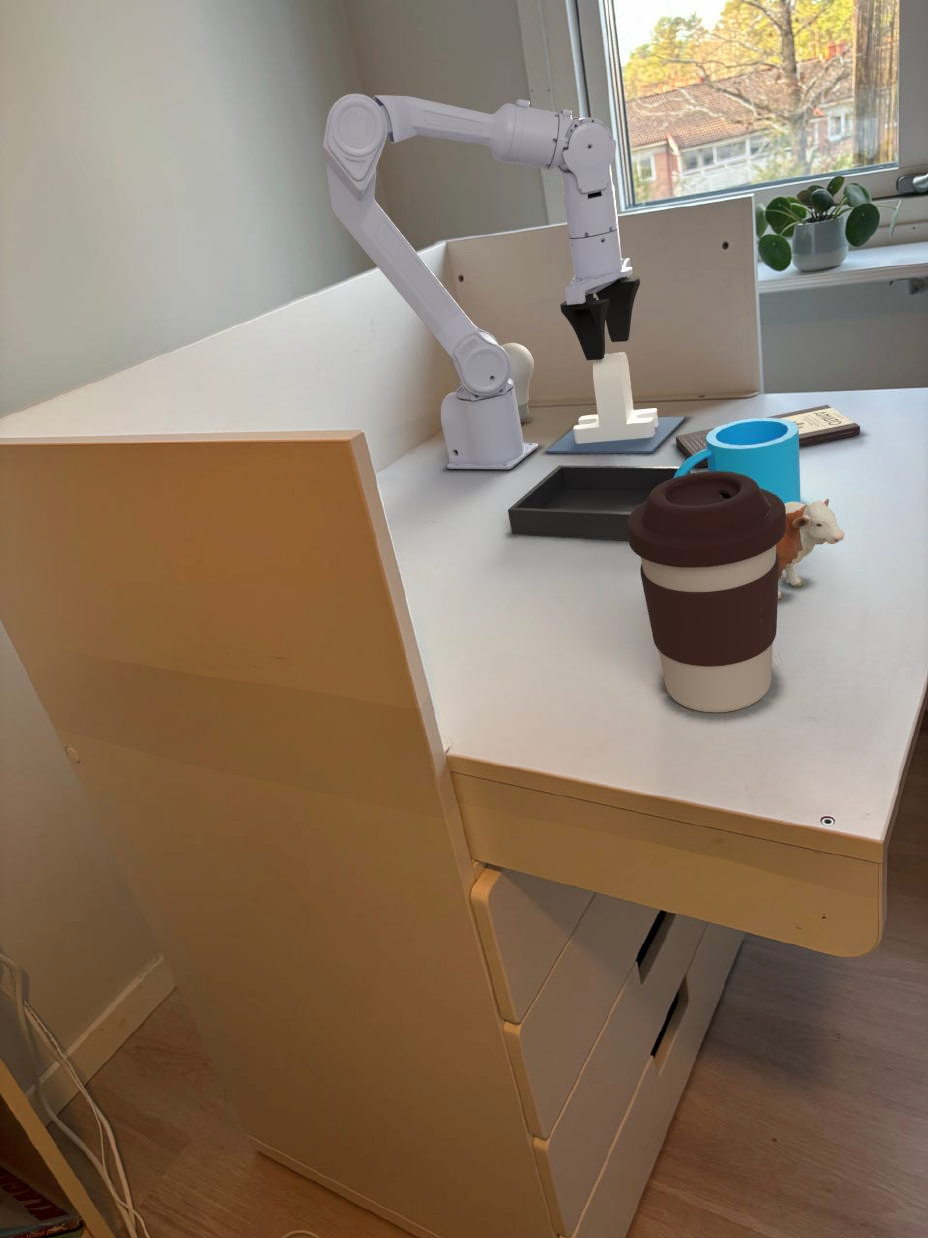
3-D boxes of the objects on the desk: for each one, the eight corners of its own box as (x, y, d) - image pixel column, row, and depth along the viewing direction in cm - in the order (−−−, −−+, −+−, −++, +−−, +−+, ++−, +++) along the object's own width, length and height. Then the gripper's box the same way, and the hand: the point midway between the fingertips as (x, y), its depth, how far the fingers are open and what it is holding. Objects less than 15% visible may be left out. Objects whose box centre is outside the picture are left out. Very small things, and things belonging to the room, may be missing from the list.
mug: (782, 490, 93) (779, 411, 89) (814, 520, 86) (813, 436, 82) (664, 515, 93) (656, 437, 89) (686, 547, 86) (679, 464, 82)
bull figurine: (842, 609, 71) (841, 512, 68) (671, 600, 78) (661, 511, 74) (850, 582, 75) (849, 488, 71) (684, 576, 81) (676, 489, 77)
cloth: (546, 453, 117) (546, 450, 117) (585, 420, 125) (585, 418, 125) (652, 453, 109) (651, 450, 109) (685, 418, 118) (685, 416, 118)
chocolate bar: (675, 435, 110) (827, 404, 109) (676, 443, 110) (827, 412, 109) (696, 459, 102) (860, 426, 101) (696, 467, 102) (859, 434, 101)
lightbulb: (513, 432, 127) (499, 352, 122) (492, 424, 132) (477, 347, 127) (550, 418, 129) (538, 339, 124) (528, 411, 134) (515, 335, 129)
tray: (512, 534, 97) (507, 509, 95) (562, 488, 105) (558, 465, 104) (650, 542, 88) (647, 515, 87) (692, 491, 97) (690, 466, 96)
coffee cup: (631, 720, 64) (605, 523, 57) (664, 646, 72) (644, 463, 65) (781, 733, 60) (772, 521, 53) (800, 652, 67) (794, 457, 60)
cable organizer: (653, 437, 113) (644, 355, 109) (574, 443, 117) (562, 365, 112) (659, 422, 118) (651, 343, 113) (582, 429, 121) (572, 353, 116)
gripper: (599, 241, 100) (614, 365, 107) (649, 216, 111) (660, 331, 117) (542, 249, 104) (560, 368, 111) (595, 224, 114) (608, 334, 121)
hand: (608, 349), depth 114 cm, fingers open, 7 cm apart
